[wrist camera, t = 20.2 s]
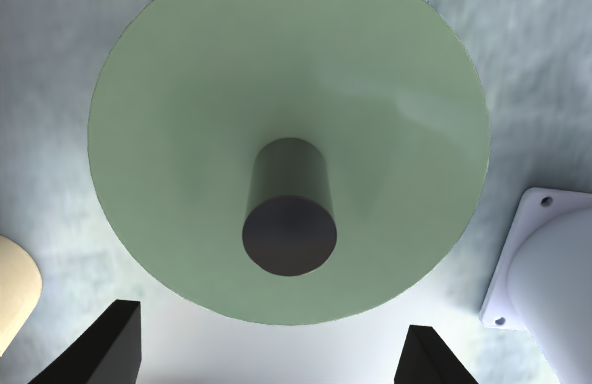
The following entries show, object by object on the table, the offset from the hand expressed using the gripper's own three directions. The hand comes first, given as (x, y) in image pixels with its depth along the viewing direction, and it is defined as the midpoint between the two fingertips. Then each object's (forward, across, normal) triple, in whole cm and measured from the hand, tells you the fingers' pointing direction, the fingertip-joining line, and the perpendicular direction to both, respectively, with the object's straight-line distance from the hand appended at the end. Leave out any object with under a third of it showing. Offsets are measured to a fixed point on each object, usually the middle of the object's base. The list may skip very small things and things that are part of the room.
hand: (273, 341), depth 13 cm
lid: (+5, 0, -3) cm, 6 cm away
